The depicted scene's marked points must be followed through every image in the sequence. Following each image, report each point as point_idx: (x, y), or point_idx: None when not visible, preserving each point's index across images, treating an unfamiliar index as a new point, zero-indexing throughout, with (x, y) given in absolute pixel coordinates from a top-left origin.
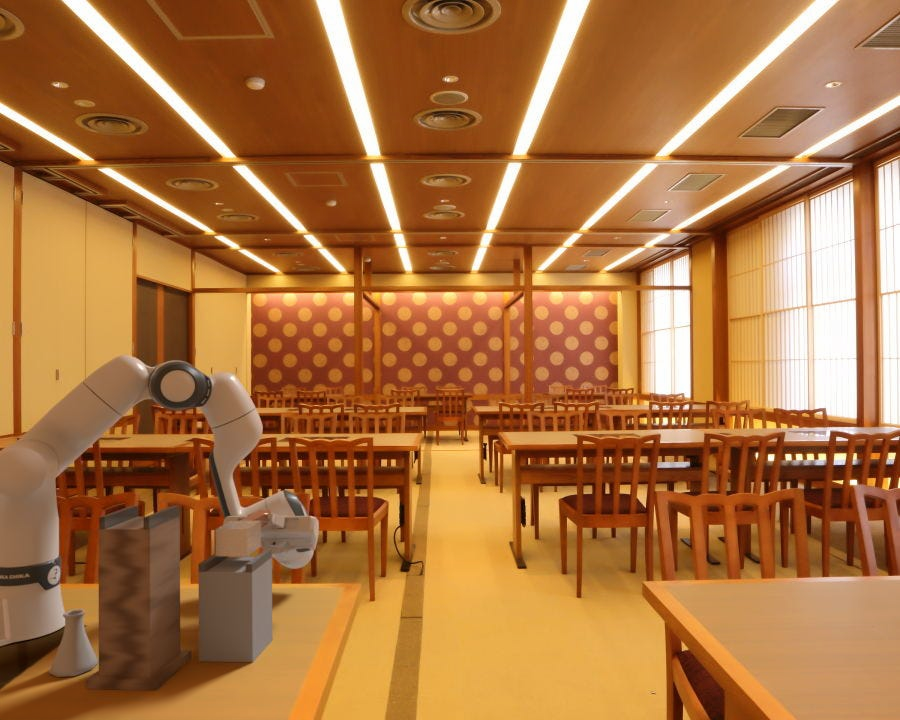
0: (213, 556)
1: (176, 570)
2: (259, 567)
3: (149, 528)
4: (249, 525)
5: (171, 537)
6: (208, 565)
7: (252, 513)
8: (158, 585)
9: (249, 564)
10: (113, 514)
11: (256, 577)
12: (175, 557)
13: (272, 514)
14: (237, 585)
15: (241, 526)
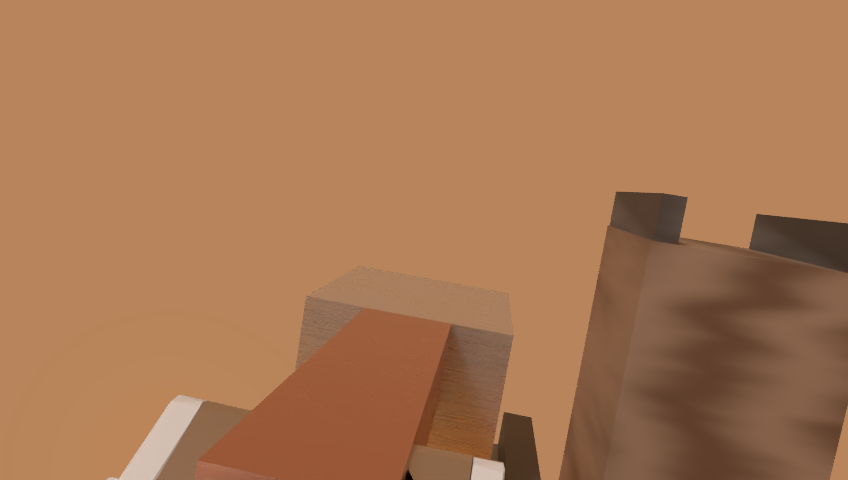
0: (521, 462)
1: (602, 440)
2: None
3: (610, 223)
4: (359, 279)
5: (622, 298)
6: (501, 440)
7: (447, 452)
8: (581, 408)
9: None
10: (775, 216)
11: None
12: (612, 388)
13: (191, 401)
14: None
15: (397, 282)
